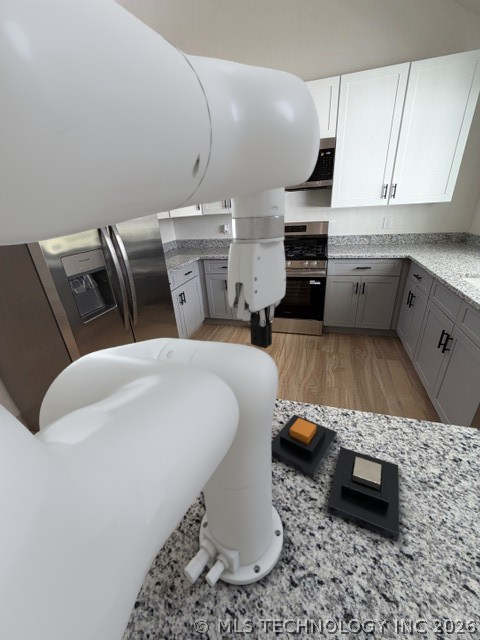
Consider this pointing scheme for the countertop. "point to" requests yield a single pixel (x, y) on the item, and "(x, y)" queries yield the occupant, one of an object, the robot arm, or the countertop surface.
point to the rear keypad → (303, 448)
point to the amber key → (303, 430)
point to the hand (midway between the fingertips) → (261, 344)
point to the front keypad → (366, 496)
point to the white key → (367, 474)
